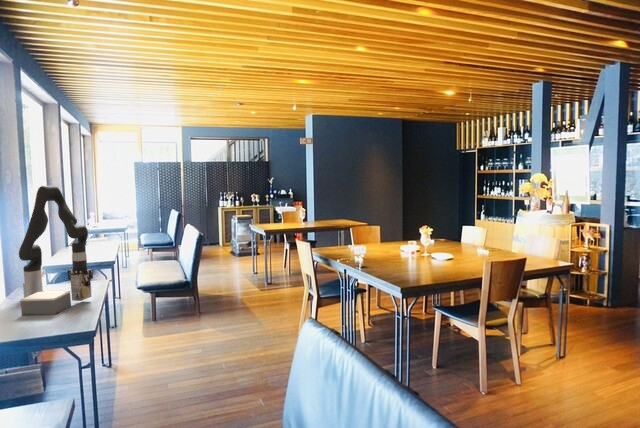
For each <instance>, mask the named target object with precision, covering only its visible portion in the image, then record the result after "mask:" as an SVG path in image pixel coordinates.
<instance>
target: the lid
mask: <svg viewBox="0 0 640 428" xmlns="http://www.w3.org/2000/svg"><path fill="white" fill-rule="evenodd" d="M68 293H70V294H71V290H61V291H60V290H59V291H57V290H54V291H43V292H37V293H35V294H32V295H30V296H28V297H25V298H24V297H23V298H21V299H20V302H21V301H46V300H56V299H58V298H60V297H62V296H64V295H66V294H68Z"/></svg>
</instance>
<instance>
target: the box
mask: <svg viewBox="0 0 640 428" xmlns="http://www.w3.org/2000/svg"><path fill="white" fill-rule="evenodd" d="M20 305H21V307H20V308H21V316H24V317H25V316H51V315H52V316H53V315H54V316H55V315H58V314H60V313H62V312H63V311H65V310H67V309H68V308H70V306H71V307H72V297H71V292H70V293H68V294H66V295H64V296H62V297H60V298H58V299H56V300H46V301H21V300H20Z"/></svg>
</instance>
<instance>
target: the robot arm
mask: <svg viewBox="0 0 640 428" xmlns="http://www.w3.org/2000/svg"><path fill="white" fill-rule="evenodd" d="M47 202H54V203H56V205H57V207H58V208H57V210H58V211H57V212H58V213H57V215H58V217H59V219H60V221H61V222H62V223H63V225H64V227H65V231H66V233H67V235H68V237H69V238H70V239H76V241H74V242H73V243H72V244H71V253H72V254H71V260H72V261H71V263H72V269H70V268H69V269H68V270H67V280H68V281H71V280H70V274H73V273H87V271H88V273H89V276H88V275H86V276H85V275H84V278H85V279H86V287H88V286H89V285H90V282H91V280H92V279H94V271H93V268H90V269H89V268H88V263H87V262H88V260H87V251H86V243H87V240H88V235H89V232H88V228H87V226H85V225H77V224H78V219H77V218H76V217H75V215H74V214H73V212H72V211H71V210H70V208H69V206H68V204H67V202H66V200H65V197H64V195H63V193H62V191H61V190H60V188H59V187H57V186H56V185H41V186H39V187H38V189H37V192H36V195H35V200H34V206H33V210H32V212H31V213H32V214H31V217H30V219H29V222H28V226H27V227H28V228H27V231H26V233H25V236H24V238H23V240H22V243H21V245H20V247H19V250H18V257H19V259H20V260H21V261H24V262H26V261H28V263H27V264H26V265H24V266H23V278H24V279H23V280H24V283H23V284H22V289H23V298H25V297H28V296H30V295H32V294H35V293H37V292H44V291H43V278H42V275H43V274H42V265H43V264H42V263H43V259H42V257H43V254H42V253H43V252H42V248H41V247H40V245H38V244H35V243H36V241H37V240H38V239H39V238H40V237H41V236H42V235H43V233H45V231H46V229H47V227H48V223H49V217H48V214H47V212H46V211H45V210H46V209H45V208H46V204H47Z"/></svg>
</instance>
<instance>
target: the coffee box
mask: <svg viewBox="0 0 640 428" xmlns="http://www.w3.org/2000/svg"><path fill="white" fill-rule="evenodd" d="M84 275H85V276H86V275H88V276H89V273H88V271H87V273H73V272H72V274H70V280H69V281H70V295H71V302H73V301H74V302H75V301H76V302H78V301H79V302H81V301H83V300H88V299H90V298H91V297H92V282H91V281H90V285H89V286H88V287H86V279H85V278H84Z"/></svg>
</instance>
